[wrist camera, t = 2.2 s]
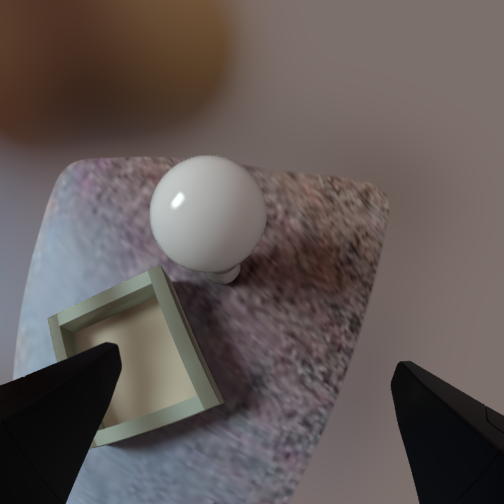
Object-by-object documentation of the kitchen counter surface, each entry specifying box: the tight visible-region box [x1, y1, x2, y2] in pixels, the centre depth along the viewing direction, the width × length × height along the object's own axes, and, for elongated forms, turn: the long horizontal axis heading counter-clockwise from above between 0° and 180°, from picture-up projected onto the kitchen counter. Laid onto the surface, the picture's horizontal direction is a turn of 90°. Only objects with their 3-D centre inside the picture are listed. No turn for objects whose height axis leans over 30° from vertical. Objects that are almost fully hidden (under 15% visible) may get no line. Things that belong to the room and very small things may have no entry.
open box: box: [48, 265, 225, 449], centre depth 19 cm, size 10×10×3 cm
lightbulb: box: [150, 155, 267, 284], centre depth 19 cm, size 6×6×11 cm
